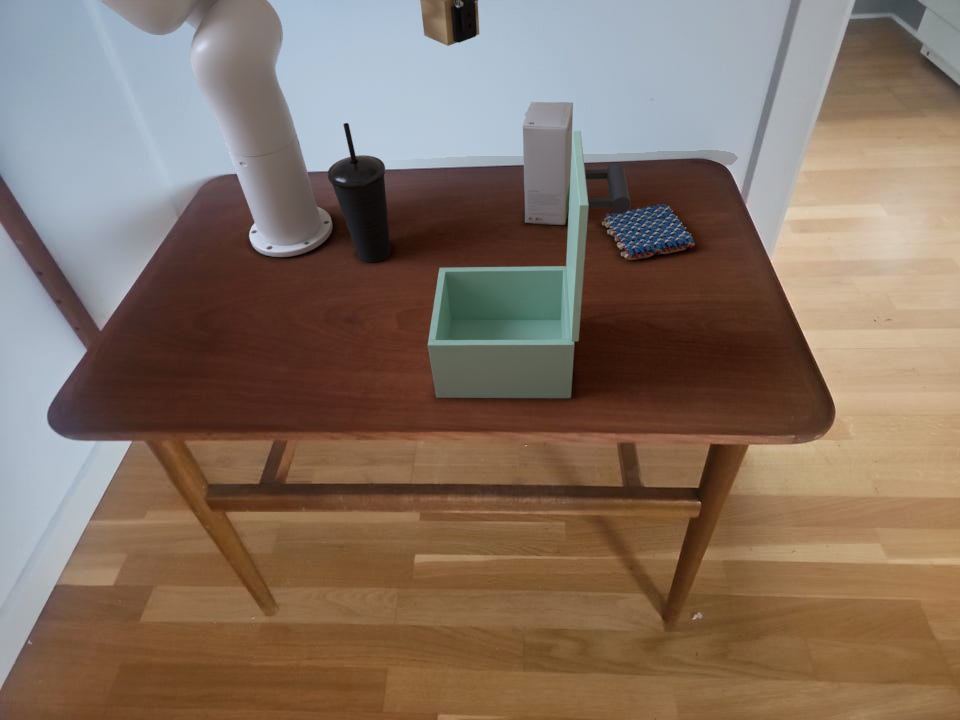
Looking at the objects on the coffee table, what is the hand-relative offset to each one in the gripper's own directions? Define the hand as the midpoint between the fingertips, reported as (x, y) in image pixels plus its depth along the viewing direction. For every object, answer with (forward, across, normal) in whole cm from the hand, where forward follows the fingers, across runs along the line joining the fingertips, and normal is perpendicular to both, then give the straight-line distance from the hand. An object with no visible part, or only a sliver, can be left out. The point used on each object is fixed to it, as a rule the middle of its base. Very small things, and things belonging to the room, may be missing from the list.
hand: (451, 31), depth 81 cm
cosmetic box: (+28, +7, +10) cm, 30 cm away
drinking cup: (+28, -2, -16) cm, 32 cm away
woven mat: (+28, +22, +16) cm, 39 cm away
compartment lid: (+10, +32, -10) cm, 35 cm away
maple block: (0, 0, 0) cm, 0 cm away
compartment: (+27, +27, -15) cm, 41 cm away
